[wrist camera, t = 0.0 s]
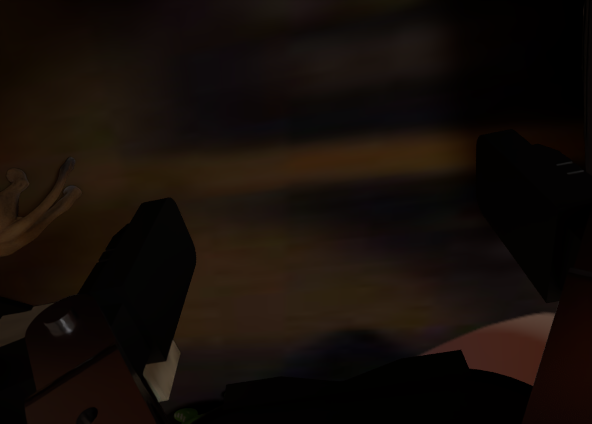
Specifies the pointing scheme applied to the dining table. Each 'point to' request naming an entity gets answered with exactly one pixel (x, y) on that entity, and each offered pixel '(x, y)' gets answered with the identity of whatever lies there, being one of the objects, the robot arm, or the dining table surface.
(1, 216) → the lion figurine
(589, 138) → the bluetooth speaker
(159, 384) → the plinth
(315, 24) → the dining table surface
